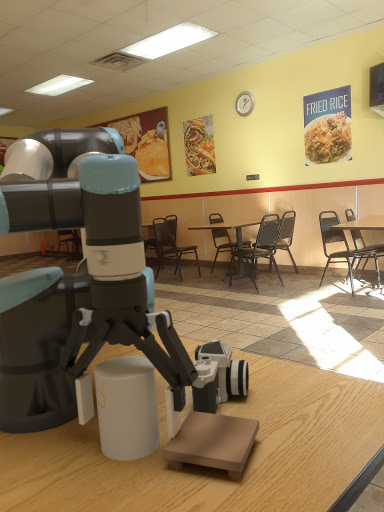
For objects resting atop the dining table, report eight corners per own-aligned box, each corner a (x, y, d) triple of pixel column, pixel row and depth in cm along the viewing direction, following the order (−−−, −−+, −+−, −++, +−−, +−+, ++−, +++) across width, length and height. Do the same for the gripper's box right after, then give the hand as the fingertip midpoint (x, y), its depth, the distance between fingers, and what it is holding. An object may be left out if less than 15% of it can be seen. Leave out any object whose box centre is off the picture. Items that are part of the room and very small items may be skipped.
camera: (242, 425, 66) (239, 362, 64) (186, 422, 67) (182, 360, 66) (251, 380, 81) (249, 328, 79) (205, 378, 83) (202, 327, 81)
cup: (112, 431, 66) (105, 355, 64) (165, 432, 65) (159, 355, 63) (93, 465, 58) (84, 379, 56) (152, 467, 57) (146, 379, 55)
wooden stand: (164, 474, 55) (163, 449, 55) (192, 432, 64) (191, 410, 64) (242, 489, 51) (241, 463, 51) (259, 442, 61) (259, 420, 60)
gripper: (21, 279, 58) (37, 427, 61) (197, 282, 50) (206, 454, 52) (56, 269, 65) (69, 403, 68) (216, 270, 57) (223, 423, 59)
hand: (129, 426), depth 60 cm, fingers open, 13 cm apart
